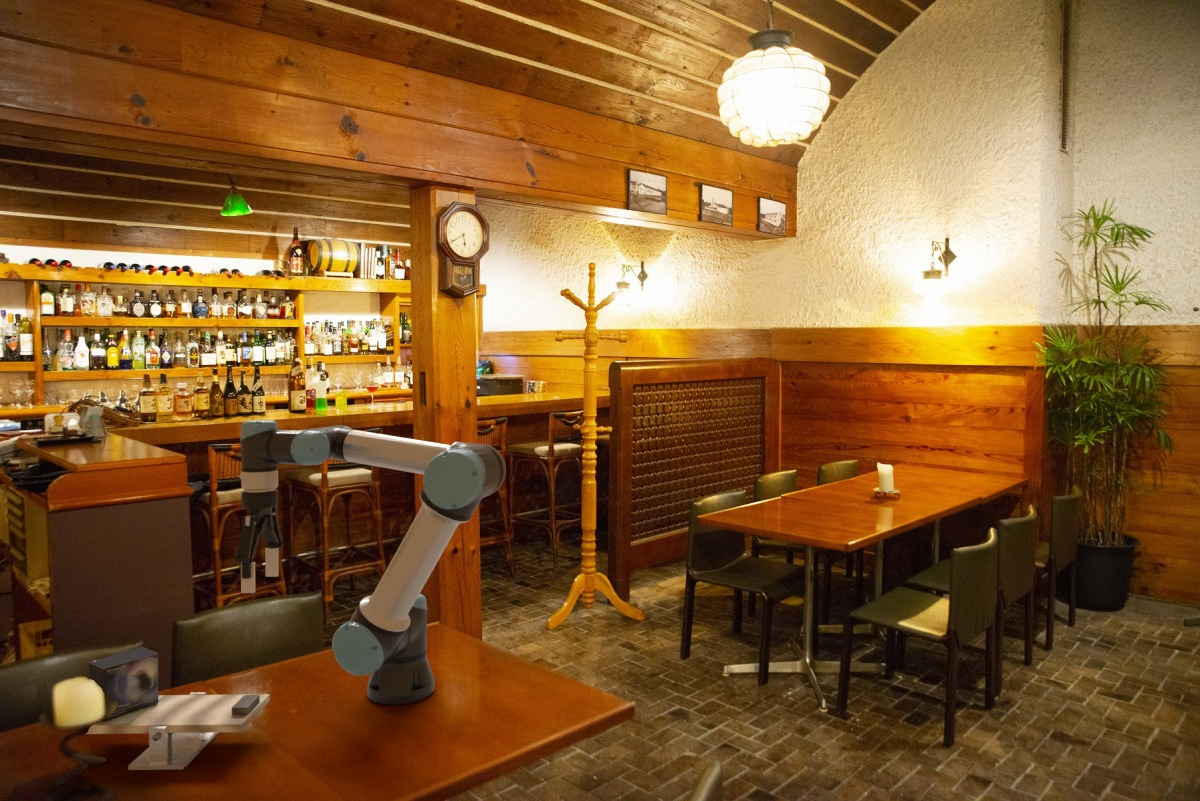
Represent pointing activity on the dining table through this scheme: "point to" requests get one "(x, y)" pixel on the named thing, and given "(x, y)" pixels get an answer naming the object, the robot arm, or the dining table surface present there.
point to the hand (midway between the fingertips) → (260, 584)
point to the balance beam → (189, 714)
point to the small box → (128, 679)
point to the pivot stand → (171, 748)
